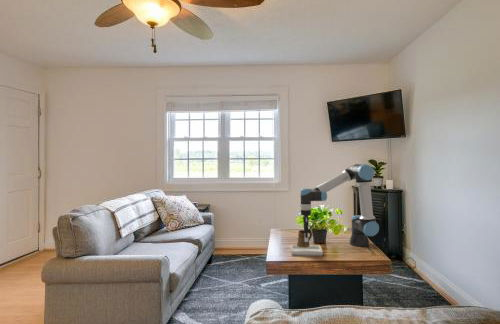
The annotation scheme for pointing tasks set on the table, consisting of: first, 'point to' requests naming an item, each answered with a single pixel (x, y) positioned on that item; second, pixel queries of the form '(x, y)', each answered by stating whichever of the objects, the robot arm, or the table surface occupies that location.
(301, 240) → the wooden mug
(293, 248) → the tray
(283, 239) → the table surface
